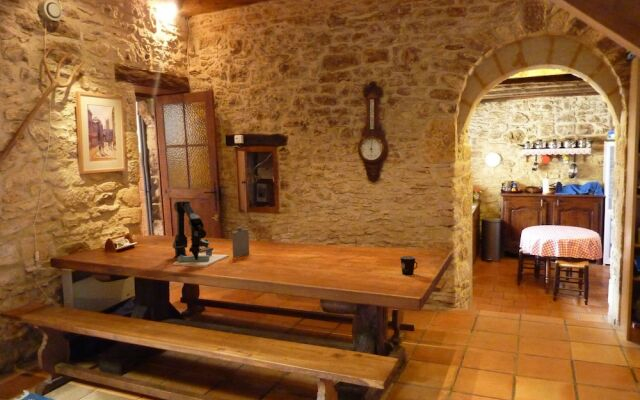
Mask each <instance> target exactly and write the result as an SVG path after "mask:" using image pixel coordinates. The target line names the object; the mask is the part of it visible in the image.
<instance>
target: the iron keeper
mask: <svg viewBox="0 0 640 400" xmlns="http://www.w3.org/2000/svg"><path fill="white" fill-rule="evenodd" d="M200 249H201V250H200V251H199V253H201V254H203V253H205V254H206V255H209V256H210V255H212V254H213V250H214V248H213V247H209V246H208V248H206V247H201V248H200Z"/></svg>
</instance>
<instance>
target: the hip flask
mask: <svg viewBox="0 0 640 400" xmlns="http://www.w3.org/2000/svg"><path fill="white" fill-rule="evenodd" d="M231 234H232V235H231V236H232V237H231V238H232V241H231V242H232V258H233V257H234V258H236V257H237V258H239V257H242V256H246V255H250V240H249V238H250V237H249V235H250V234H249V228H243V227H242V226H237V227H236V230H235V231H232V232H231Z"/></svg>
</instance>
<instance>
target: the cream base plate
mask: <svg viewBox="0 0 640 400" xmlns="http://www.w3.org/2000/svg"><path fill="white" fill-rule="evenodd" d="M203 255H206V253H199V255H198V256H203ZM209 258H210V260H209V261H186V262H178V260H177V261H175V262H173V263H172V266H183V267H197V268H199V267H200V268H207V267H209V266H211V265H214V264H216V263H218V262H220V261H222V260H225V259H227V258H229V254H213V253H212V255H210V256H209ZM213 263H214V264H213ZM208 265H209V266H208ZM206 266H207V267H206Z"/></svg>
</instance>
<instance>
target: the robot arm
mask: <svg viewBox="0 0 640 400" xmlns="http://www.w3.org/2000/svg"><path fill="white" fill-rule="evenodd" d="M173 208H174V211H175V213H176V214H177V215H176V216H177V217H176V218H177V219H176V224H177V225H176V228H177V229H176V231H177V234H176V235H175V237H174V241H173V243H172V248H173V249H174V252H175V256H173V257H174V258H178V257H179V256H180V255H183V256H188V255H187V251H186V248H187V247H188V242H189V240H188V237H187V236H186V235H185V215H186V216H187V218H188V221H187V222H188V225H189V227H190V241H191V244H190V248H189V252H191V254H192V256H194V258H195V260H198V255H199V251H200V250H201V249H202V248H208V247H209V246H210V241H209V239H208V238H206V239H204V238H205V237H206V236H207V231H206V230H205V229H204V228H205V227H204V226H205V225H204V222H203V220H202V219H201V217H200V216H199V214H198V215H197V214H196V213H195V211H194V209H193V207H192V206H191V202H190V201H189V200H177V201H175V202H174V203H173ZM200 247H201V248H200Z"/></svg>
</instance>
